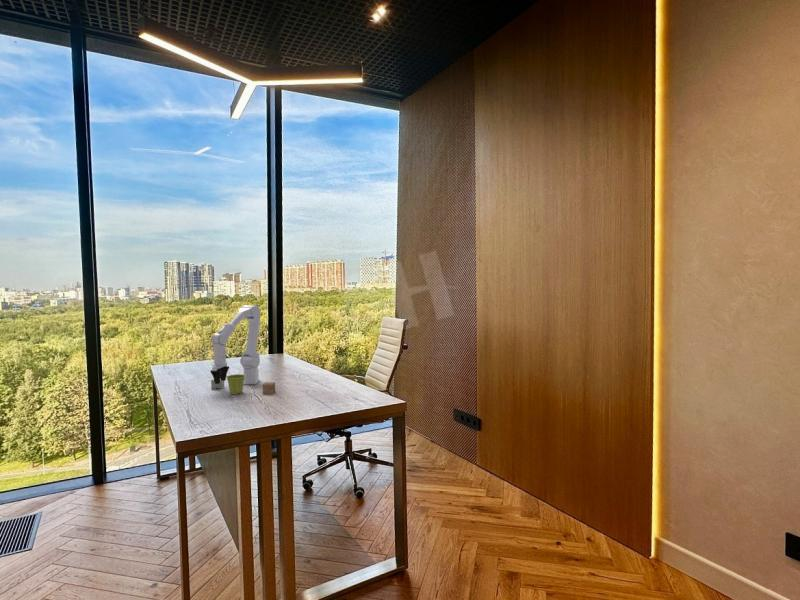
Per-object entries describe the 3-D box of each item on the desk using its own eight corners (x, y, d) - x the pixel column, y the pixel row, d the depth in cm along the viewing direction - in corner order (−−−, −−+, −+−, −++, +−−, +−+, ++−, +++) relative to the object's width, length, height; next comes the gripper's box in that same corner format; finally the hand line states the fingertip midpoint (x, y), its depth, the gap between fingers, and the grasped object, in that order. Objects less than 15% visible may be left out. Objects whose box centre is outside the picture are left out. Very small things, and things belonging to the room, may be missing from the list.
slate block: (215, 387, 249) (215, 377, 248) (224, 387, 249) (224, 377, 248) (211, 389, 244) (211, 380, 243) (220, 389, 244) (220, 379, 243)
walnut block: (265, 391, 237) (265, 382, 237) (275, 391, 237) (275, 382, 237) (262, 394, 232) (262, 384, 232) (272, 394, 232) (272, 384, 232)
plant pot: (248, 390, 239) (248, 374, 239) (240, 395, 230) (240, 378, 230) (231, 390, 240) (231, 374, 240) (223, 395, 231) (222, 378, 230)
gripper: (217, 354, 245) (218, 379, 246) (206, 358, 231) (206, 385, 231) (230, 354, 245) (231, 379, 246) (220, 358, 231) (220, 385, 231)
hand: (220, 382), depth 238 cm, fingers open, 7 cm apart
